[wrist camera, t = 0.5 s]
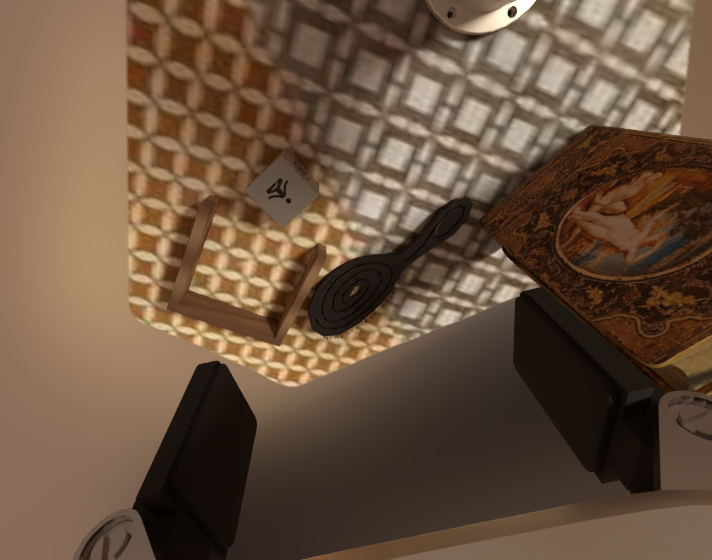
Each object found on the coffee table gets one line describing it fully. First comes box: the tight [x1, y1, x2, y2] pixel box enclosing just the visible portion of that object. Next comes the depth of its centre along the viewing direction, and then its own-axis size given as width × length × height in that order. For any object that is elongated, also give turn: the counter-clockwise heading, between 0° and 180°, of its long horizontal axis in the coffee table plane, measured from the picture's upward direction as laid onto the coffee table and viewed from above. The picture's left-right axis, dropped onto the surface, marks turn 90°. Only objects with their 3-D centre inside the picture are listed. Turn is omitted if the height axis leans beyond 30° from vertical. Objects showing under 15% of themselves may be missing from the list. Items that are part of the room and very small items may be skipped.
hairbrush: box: [308, 197, 473, 339], centre depth 42 cm, size 8×4×25 cm
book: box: [480, 125, 712, 396], centre depth 29 cm, size 16×6×25 cm, turn 135°
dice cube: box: [244, 147, 319, 228], centre depth 34 cm, size 5×5×5 cm
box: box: [167, 195, 326, 346], centre depth 40 cm, size 14×14×4 cm
